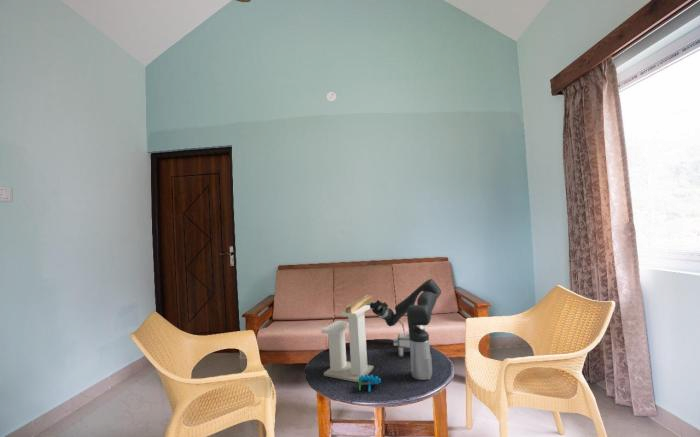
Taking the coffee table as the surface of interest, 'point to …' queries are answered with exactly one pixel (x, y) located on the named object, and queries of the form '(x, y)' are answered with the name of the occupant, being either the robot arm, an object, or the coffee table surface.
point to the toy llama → (404, 341)
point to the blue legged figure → (368, 381)
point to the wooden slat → (358, 304)
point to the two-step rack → (357, 347)
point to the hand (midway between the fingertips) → (370, 301)
